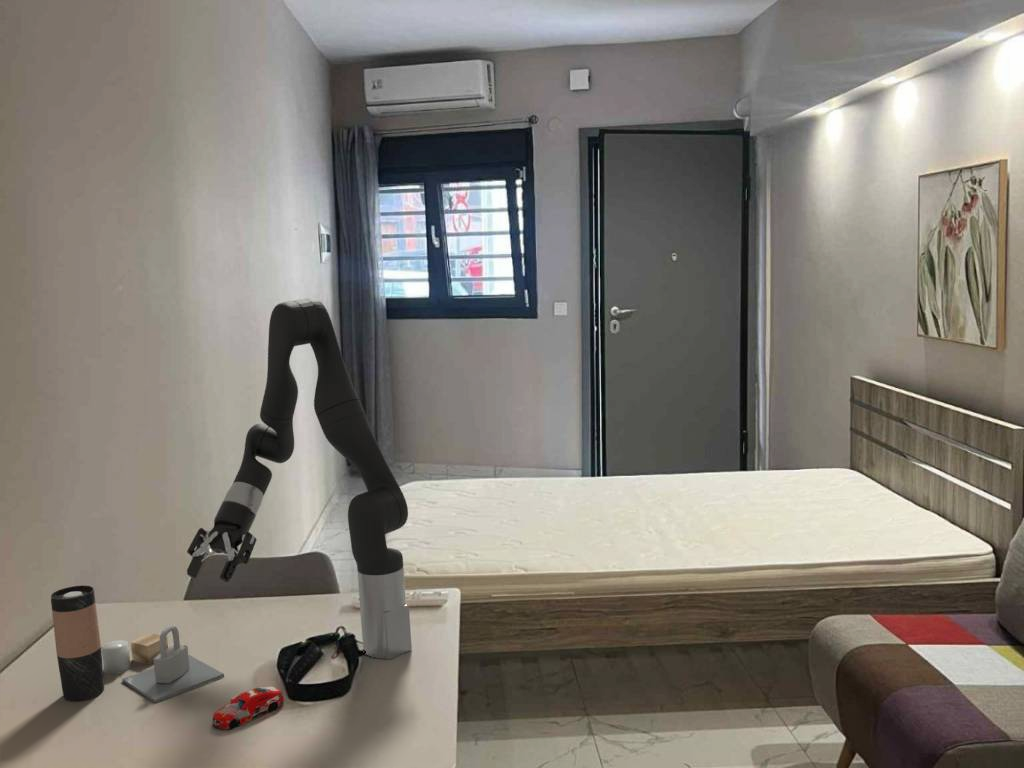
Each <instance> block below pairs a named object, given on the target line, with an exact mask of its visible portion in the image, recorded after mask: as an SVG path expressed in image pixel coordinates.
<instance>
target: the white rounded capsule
mask: <svg viewBox="0 0 1024 768" xmlns="http://www.w3.org/2000/svg"><path fill="white" fill-rule="evenodd" d="M101 653H102V666H103V674H105V675H117V674H122V673H124V672H126V671H128V670H129V669H130V668H131V666H132V665H131V658H130V657H131V656H130V649H129V642H128V641H127V640H123V639H117V640H113V641H108V642H106V643H105V644H103V645H101Z"/></svg>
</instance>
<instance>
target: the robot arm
mask: <svg viewBox="0 0 1024 768" xmlns="http://www.w3.org/2000/svg"><path fill="white" fill-rule="evenodd" d="M268 325H269V326H268V341H267V342H268V345H267V374H266V384H265V389H264V393H263V398H262V401H261V402H262V403H261V407H260V410H259V418H260V420H261V422H263V424H262V423H256V424H253V426H251V427H250V428H249V429H248V431H247V433H246V436H245V443H244V450H243V455H242V461H241V464H240V467H239V469H238V471H237V473H236V475H235V478H234V480H233V482H232V484H231V486H230V487H229V489H228V491H226V494H225V496H224V498H223V500H222V501H221V505H220V507H219V508H218V510H217V513H216V515H215V517H214V520H213V522H214V524H213V527H212V529H211V530H206V529H204V528H203V527H200V528H199V529H198V530H197V531H196V534H195V536H194V538H193V539H192V541H191V543H190V545H189V546H188V548H187V551H186V553H187V554H188V555H189V556H191V557H192V559H191V561H190V563H189V565H188V567H187V569H186V574H187V576H188V577H190V578H192V579H196V578H197V576H198V574H199V571H200V569H201V567H202V566H203V563H204V562H203V561H205V560H206V559H207V558H208V557H212V556H214V555H215V554H225V555H227V559H228V560H226V561H225V562H226V563H225V564H224V566H223V569H222V571H221V573H220V575H219V579H220V580H221V581H222V582H223V583H228V582H230V580H231V579H232V578H233V575H234V573H235V572H236V569H237V567H239V566H240V564H243V565H246V564H248V563H249V561H250V557H251V555H252V553H253V551H254V548H255V545H256V543H257V538H256V537H255V535H253V534H252V533H251V532H250V529H251V528H252V526H253V523H254V521H255V520H256V517H257V514H258V512H259V511H260V508H261V505H262V501H263V499H264V496H265V494H266V492H267V489H268V487H269V485H270V482H271V480H272V478H273V473H272V470H271V469H270V468H269V467H268V466H266V465H265V464H264V463H262V462H260V461H259V460H258V459H256V457H258V458H262V459H265V460H267V461H271V462H273V463H277V464H284V463H286V462H287V461H289V460H290V459H291V457H292V455H293V453H294V449H295V435H294V434H295V433H294V414H295V412H296V411H295V410H296V408H297V407H296V406H297V403H298V398H299V387H298V383H297V380H296V377H295V375H294V373H293V371H292V369H291V365H290V358H291V356H292V352H293V350H294V348H295V347H298V346H303V345H308V344H310V346H311V348H312V351H313V353H314V356H315V357H314V358H315V361H316V364H317V379H316V385H315V390H314V399H313V406H314V407H313V408H314V412H315V415H316V417H317V420H318V423H319V425H320V428H321V430H322V433H323V435H324V436H325V438H326V441H328V443H329V444H330V445H331V447H333V448H334V449H335V450H336V451H338V453H339V454H340V455H341V456H343V457H344V458H345V459H346V460H347V461H349V462H350V463H351V464H352V466H353V467H354V468H355V470H357V472H358V473H359V475H360V477H361V479H362V480H363V483H364V485H365V488H366V490H367V491H365V492H362V493H359V494H357V495H355V496H354V497H353V498H351V500H350V502H349V506H348V510H347V511H348V512H347V521H348V522H347V523H348V531H349V537H350V538H349V539H350V544H351V552H352V556H353V558H354V560H355V563H356V570H357V571H356V572H357V585H358V596H359V597H358V601H359V610H360V624H361V637H362V638H361V639H362V649H364V650H365V651H366V653H367V654H368V655H369V656H371V657H370V658H374V657H376V659H386V660H391V659H393V658H395V657H397V656H401V655H402V654H404V653H407V652H411V651H412V650H413V649H412V648H413V646H412V645H413V644H412V635H411V634H412V633H411V620H410V606H409V605H408V604H407V601H406V600H407V599H406V586H405V571H404V569H405V568H404V557H403V553H402V552H401V551H400V550H399V549H396V548H394V547H393V548H392V547H388V545H387V540H386V535H387V534H390V533H393V532H395V531H397V530H399V529H401V528H403V527H404V526H405V524H406V523H407V520H408V516H409V509H408V503H407V501H406V498H405V496H404V493H403V491H402V489H401V487H400V485H399V484H398V481H397V480H396V477H395V475H394V474H393V472H392V470H391V469H390V467H389V465H388V463H387V461H386V459H385V457H384V454H383V453H382V450H381V448H380V446H379V444H378V442H377V439H376V436H375V434H374V433H373V430H372V428H371V425H370V423H369V420H368V417H367V414H366V411H365V410H364V408H363V407H364V406H363V405H362V402H361V399H360V398H359V395H358V393H357V391H356V389H355V386H354V385H353V384H354V383H353V382H352V379H351V377H350V373H349V371H348V368H347V365H346V364H345V361H344V358H343V355H342V351H341V349H340V345H339V342H338V338H337V335H336V332H335V329H334V325H333V322H332V319H331V317H330V314H329V312H328V309H327V308H326V306H325V305H324V304H323V302H322V301H321V300H319V299H318V298H315V297H311V298H310V297H308V298H303V299H297V300H296V299H295V300H289V301H283V302H280V303H277V304H276V305H275V306H274V307H273V309H272V311H271V313H270V318H269V324H268ZM239 546H240V547H239ZM209 547H210V548H209ZM369 656H368V657H369Z"/></svg>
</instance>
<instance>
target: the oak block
mask: <svg viewBox="0 0 1024 768" xmlns="http://www.w3.org/2000/svg"><path fill="white" fill-rule="evenodd" d="M160 635H161V634H156V633H151V632H150V633H148V634H146V635H143V636H140V637H138V638H137V639H134V640H132V641H130V647H131V648H130V649H131V656H132V658H131V659H132V661H135V662H139V663H142V664H147V665H151V664H154V658H155V657H156V656H157V655H158V654H160V642H159V640H160ZM168 642H169V641H168V636H166V649H167V648H169V643H168Z"/></svg>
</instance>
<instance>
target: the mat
mask: <svg viewBox="0 0 1024 768" xmlns="http://www.w3.org/2000/svg"><path fill="white" fill-rule="evenodd" d="M188 655H189V665H190V668H189V669H188V670H187V671H186V672H185V673H184V674H183V675H182V676H181V677H179V678H178V679H175V680H174V681H172V682H170V683H169V684H168V683H156V679H155V671H154V667H152V668H150V669H146V670H143V671H140V672H138V673H135V674H132V675H129V676H127V677H123V678H121V679H122V680H121V681H122V683H124V684H125V685H126V686H128V687H130V688H131V689H132V690H135V691H137V692H138V693H140V695H142V696H144V697H145V698H147V699H148V700H151V702H153V703H158V702H160V701H164V700H166V699H169V698H172V697H174V696H177V695H180V694H182V693H186V692H187V691H191V690H193V689H195V688H198V687H200V686H203V685H204V686H205V685H206V684H208V683H211V682H214V681H216V680H217V681H218V680H220V679H222V678H224V677H225V673H224V672H222V671H220V670H218V669H216V668H214V667H213V666H210V665H209V664H207V663H206V662H203V661H201V660H200V659H197V658H196V657H194V656H192V655H190V654H188Z"/></svg>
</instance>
